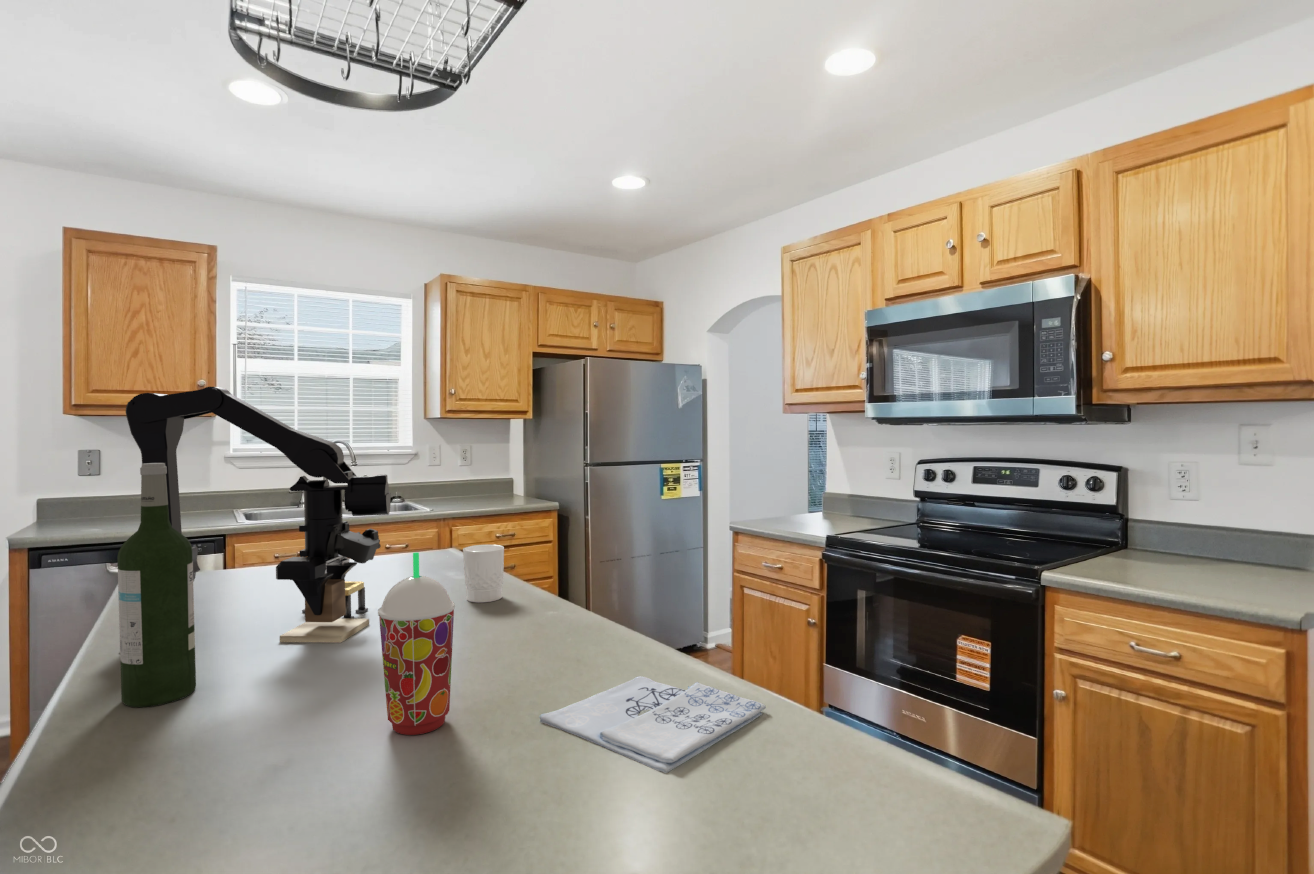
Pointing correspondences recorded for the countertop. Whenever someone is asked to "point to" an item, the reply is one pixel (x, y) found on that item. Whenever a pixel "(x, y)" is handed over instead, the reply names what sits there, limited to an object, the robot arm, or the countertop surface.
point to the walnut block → (329, 603)
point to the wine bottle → (156, 603)
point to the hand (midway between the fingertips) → (325, 610)
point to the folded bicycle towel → (656, 720)
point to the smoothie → (417, 653)
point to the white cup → (483, 572)
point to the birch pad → (325, 631)
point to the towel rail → (350, 589)
